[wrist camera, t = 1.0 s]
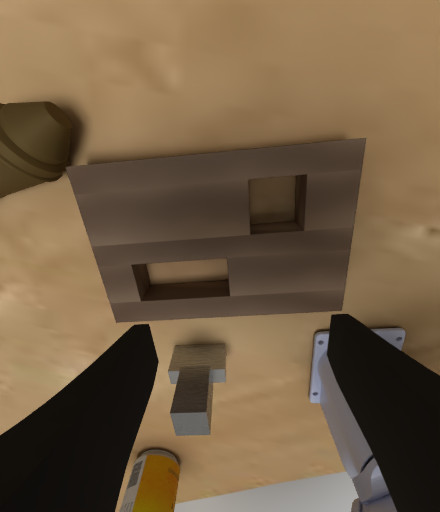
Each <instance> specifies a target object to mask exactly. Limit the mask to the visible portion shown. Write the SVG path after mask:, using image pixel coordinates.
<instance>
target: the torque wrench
mask: <svg viewBox="0 0 440 512" xmlns="http://www.w3.org/2000/svg"><path fill="white" fill-rule="evenodd" d="M71 130H72V124H71V121H70V119H69V118H68V117H67V115H66V114H65V113H64V112H63V111H62V110H61V109H60V108H59V107H57V106H56V105H55V104H53V103H51V102H48V101H47V102H26V103H8V104H1V103H0V198H1V197H4V196H6V195H8V194H11V193H14V192H17V191H20V190H23V189H26V188H29V187H32V186H35V185H38V184H41V183H44V182H53V181H56V180H58V179H59V178H60V177H61V176H62V174H63V172H64V171H65V170H66V167H68V155H69V148H70V139H71Z"/></svg>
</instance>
